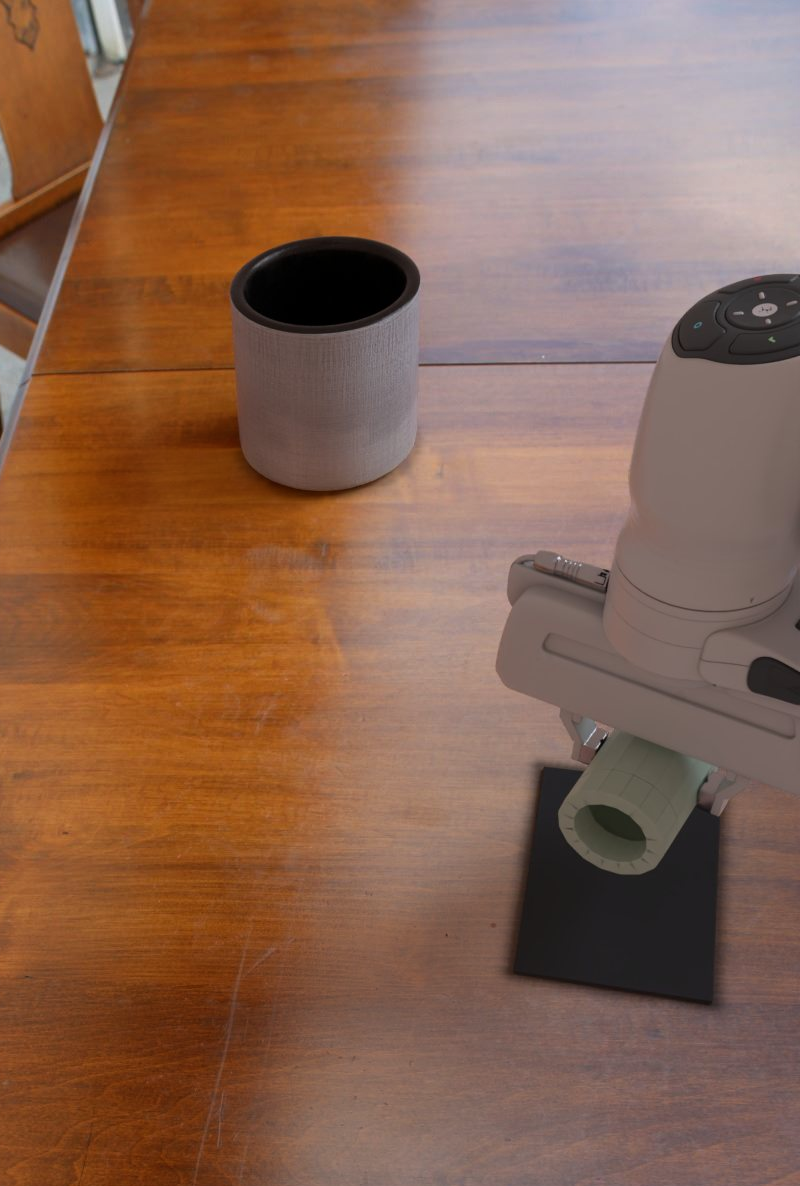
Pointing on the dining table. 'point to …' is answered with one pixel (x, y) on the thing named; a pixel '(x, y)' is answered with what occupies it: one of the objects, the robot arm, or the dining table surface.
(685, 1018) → the dining table surface
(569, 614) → the robot arm
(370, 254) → the planter
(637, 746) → the green hollow cylinder
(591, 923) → the mat
